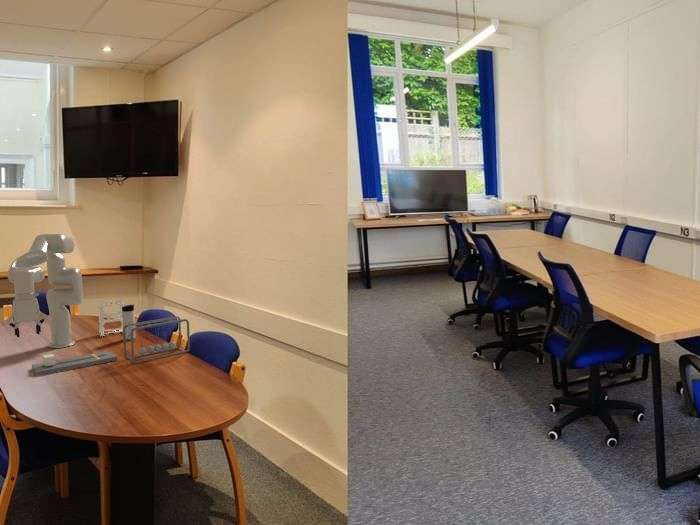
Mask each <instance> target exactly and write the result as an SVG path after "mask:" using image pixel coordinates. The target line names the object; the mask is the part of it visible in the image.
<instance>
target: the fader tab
mask: <svg viewBox="0 0 700 525" xmlns="http://www.w3.org/2000/svg"><path fill="white" fill-rule="evenodd" d="M55 361H56V356H55V355H54V354H53V353H50V354H44V355H42V363H43V364H44V365H45V366H50V365H55Z"/></svg>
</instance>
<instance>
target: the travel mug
mask: <svg viewBox="0 0 700 525" xmlns="http://www.w3.org/2000/svg"><path fill="white" fill-rule="evenodd" d="M122 317H123V327H124V326H125V325H127V324H133V323H136V322H135V320H136V319H135V304H128V305H125V306H124V307H122ZM131 327H133V328H135V327H136V325H135V326H131ZM131 327H126V328H125V334H126V342H127V341H128V340H129V341H131V334H130V333H131V330H132V329H133V328H131ZM136 336H137V335H136V330H134V331H133V341H135V339H136Z"/></svg>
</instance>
